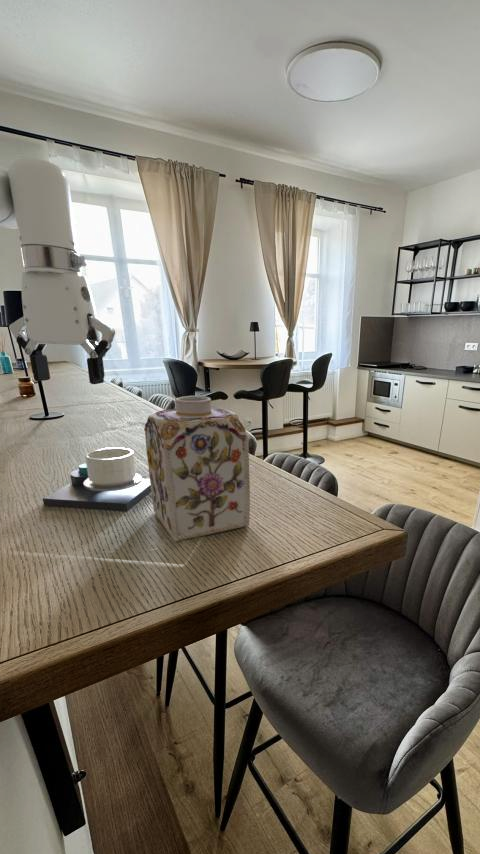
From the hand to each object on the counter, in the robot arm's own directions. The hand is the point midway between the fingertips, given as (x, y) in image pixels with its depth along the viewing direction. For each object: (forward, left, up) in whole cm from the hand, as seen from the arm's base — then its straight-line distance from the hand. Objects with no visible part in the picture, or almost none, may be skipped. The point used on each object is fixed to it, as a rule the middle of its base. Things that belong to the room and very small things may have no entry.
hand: (69, 381), depth 68 cm
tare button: (+1, -1, -16) cm, 16 cm away
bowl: (+8, -5, -15) cm, 18 cm away
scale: (+6, -4, -18) cm, 20 cm away
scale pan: (+8, -5, -15) cm, 18 cm away
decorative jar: (+25, -11, -19) cm, 33 cm away
